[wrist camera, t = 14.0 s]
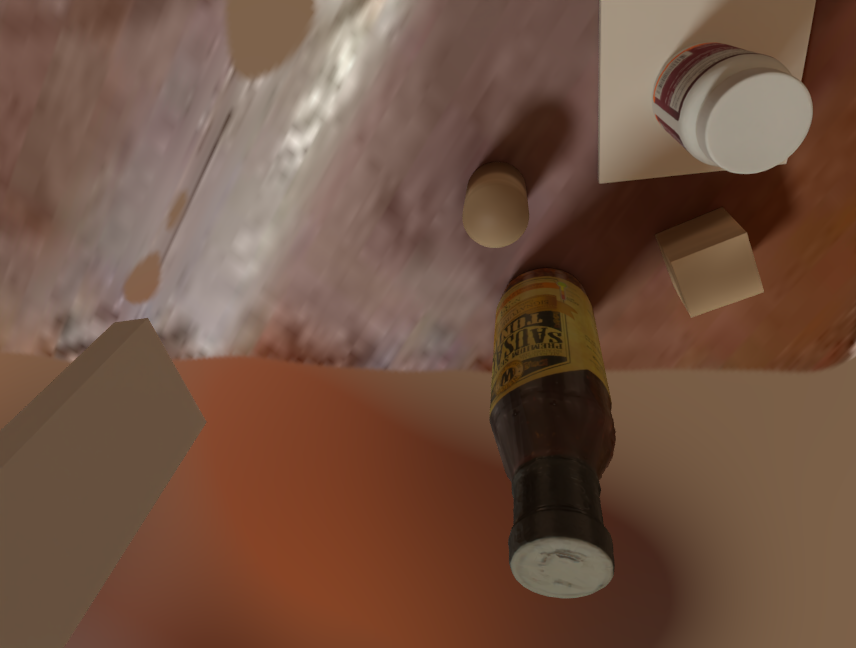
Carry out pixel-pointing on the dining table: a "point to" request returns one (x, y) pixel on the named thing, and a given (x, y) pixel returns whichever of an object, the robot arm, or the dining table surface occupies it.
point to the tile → (653, 47)
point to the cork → (496, 205)
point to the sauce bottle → (553, 433)
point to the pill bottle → (732, 107)
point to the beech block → (710, 262)
